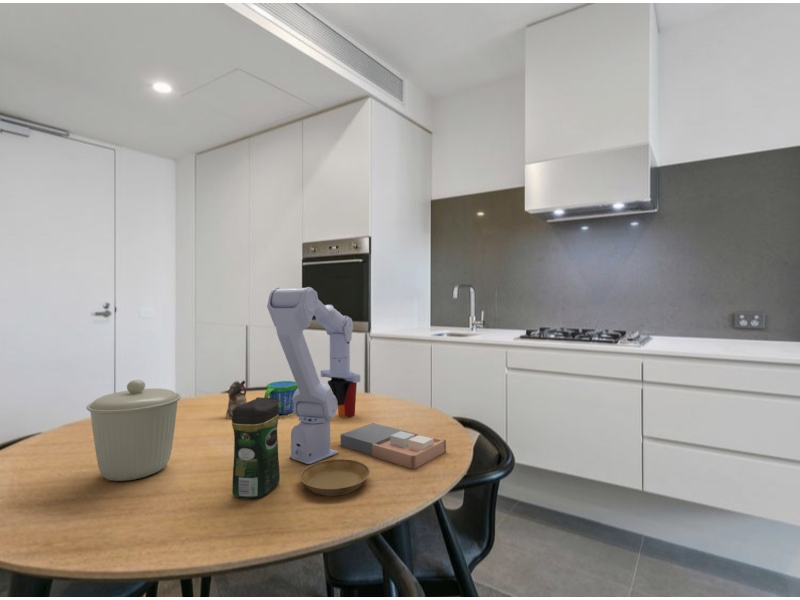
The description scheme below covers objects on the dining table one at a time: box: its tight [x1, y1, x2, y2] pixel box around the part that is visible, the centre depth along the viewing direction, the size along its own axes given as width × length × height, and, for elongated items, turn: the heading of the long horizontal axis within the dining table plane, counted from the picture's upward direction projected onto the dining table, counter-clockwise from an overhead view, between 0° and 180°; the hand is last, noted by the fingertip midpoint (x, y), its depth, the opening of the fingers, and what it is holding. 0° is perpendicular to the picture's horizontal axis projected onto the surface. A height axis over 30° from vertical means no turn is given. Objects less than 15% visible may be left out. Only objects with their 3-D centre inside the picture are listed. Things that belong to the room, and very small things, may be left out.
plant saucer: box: [299, 458, 371, 497], centre depth 86 cm, size 15×15×3 cm
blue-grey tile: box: [390, 431, 415, 448], centre depth 103 cm, size 4×4×2 cm
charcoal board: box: [340, 422, 405, 456], centre depth 110 cm, size 13×12×3 cm
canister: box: [85, 379, 182, 482], centre depth 92 cm, size 18×18×21 cm
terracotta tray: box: [371, 429, 447, 470], centre depth 102 cm, size 14×13×3 cm
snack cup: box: [263, 380, 298, 415], centre depth 142 cm, size 16×10×10 cm
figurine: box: [225, 380, 248, 419], centre depth 138 cm, size 7×7×12 cm
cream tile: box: [408, 435, 433, 451], centre depth 100 cm, size 4×4×2 cm
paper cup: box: [337, 382, 358, 419], centre depth 138 cm, size 8×8×14 cm
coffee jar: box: [231, 396, 281, 500], centre depth 83 cm, size 10×8×19 cm
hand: (339, 404), depth 115 cm, fingers closed
